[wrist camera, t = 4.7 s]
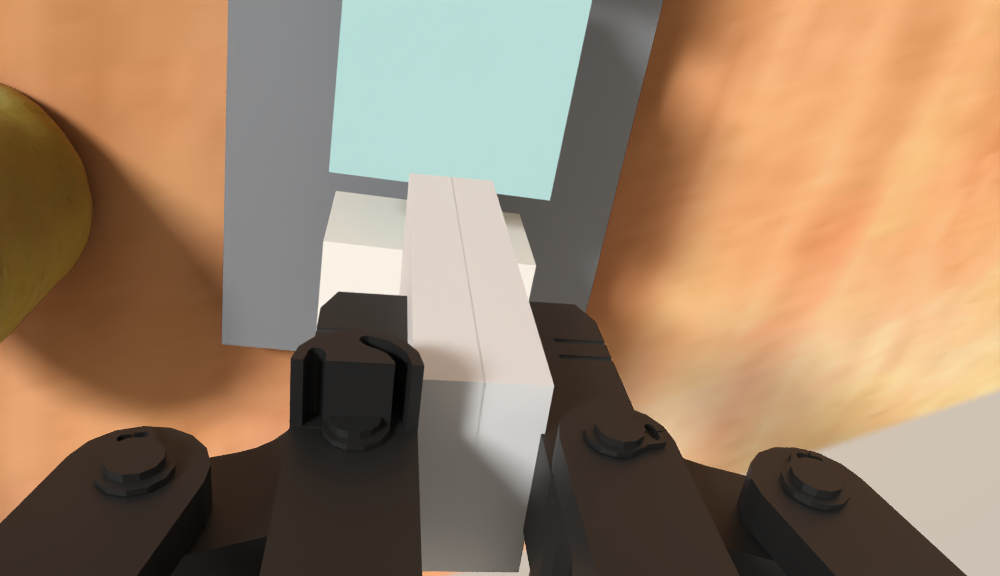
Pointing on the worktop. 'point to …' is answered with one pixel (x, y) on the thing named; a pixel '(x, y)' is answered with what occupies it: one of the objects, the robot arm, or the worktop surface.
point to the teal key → (456, 89)
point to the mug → (37, 206)
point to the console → (311, 187)
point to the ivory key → (384, 246)
